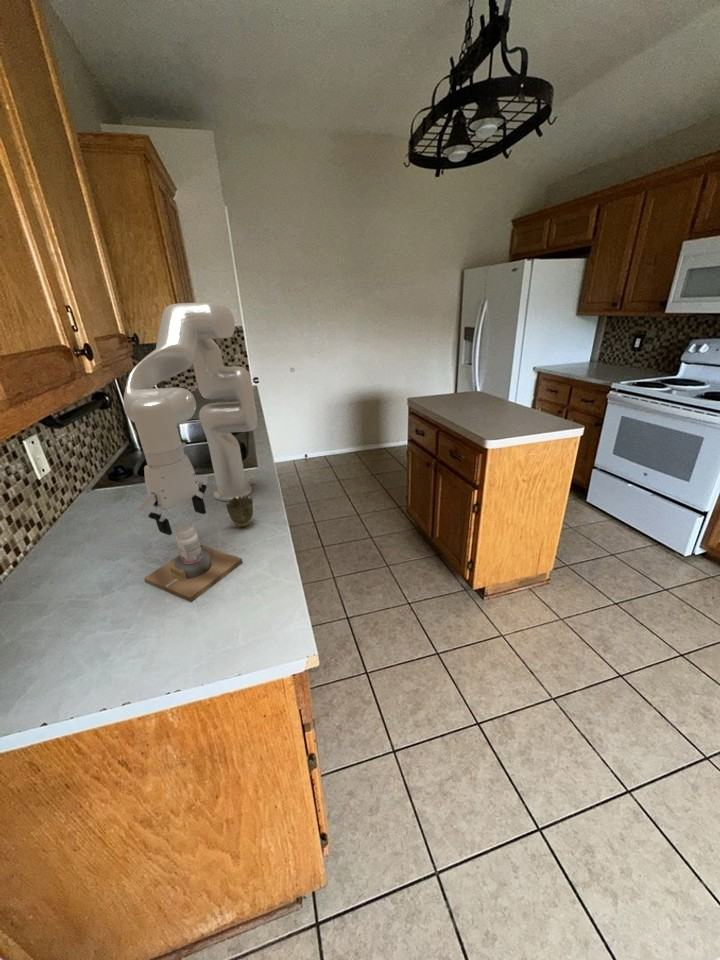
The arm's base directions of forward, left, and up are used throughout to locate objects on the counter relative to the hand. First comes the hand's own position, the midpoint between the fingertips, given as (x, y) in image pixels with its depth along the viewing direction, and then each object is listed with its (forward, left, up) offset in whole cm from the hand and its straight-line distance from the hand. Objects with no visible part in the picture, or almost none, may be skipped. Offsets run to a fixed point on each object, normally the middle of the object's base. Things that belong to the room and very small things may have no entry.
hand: (184, 522), depth 92 cm
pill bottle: (+1, 0, -10) cm, 10 cm away
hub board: (+1, +1, -14) cm, 13 cm away
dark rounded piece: (-21, -4, -14) cm, 26 cm away
